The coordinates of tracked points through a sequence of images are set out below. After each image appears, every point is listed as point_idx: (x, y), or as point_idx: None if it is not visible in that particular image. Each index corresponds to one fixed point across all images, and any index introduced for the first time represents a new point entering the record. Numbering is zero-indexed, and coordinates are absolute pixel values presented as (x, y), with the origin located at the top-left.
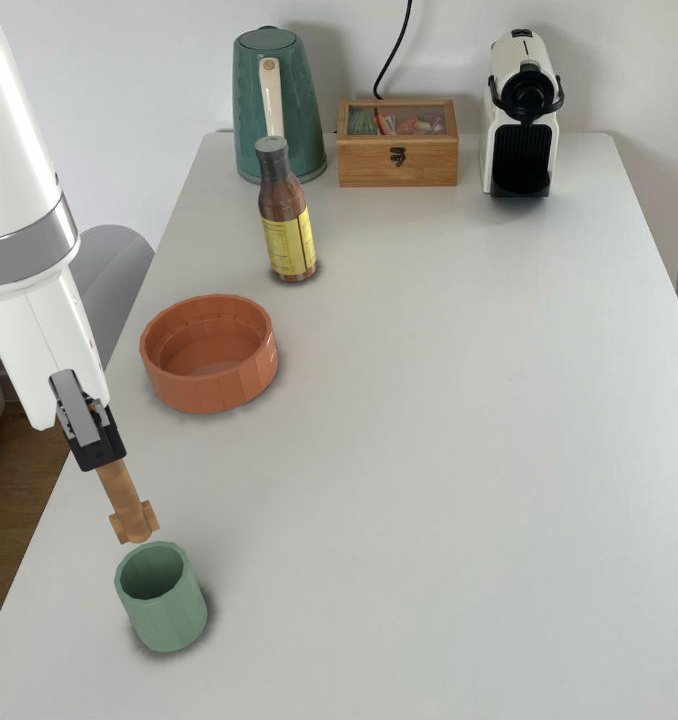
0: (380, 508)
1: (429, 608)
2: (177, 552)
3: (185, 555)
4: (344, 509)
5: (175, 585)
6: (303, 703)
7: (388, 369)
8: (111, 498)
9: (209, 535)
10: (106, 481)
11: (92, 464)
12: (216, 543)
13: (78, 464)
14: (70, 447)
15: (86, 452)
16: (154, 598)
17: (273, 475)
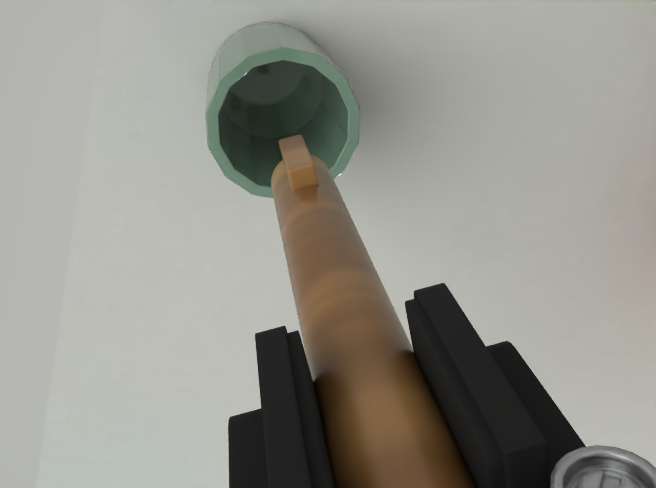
0: None
1: (199, 430)
2: None
3: None
4: None
5: (238, 173)
6: (83, 269)
7: (624, 431)
8: (295, 241)
9: (422, 153)
10: (299, 294)
11: (231, 419)
12: (402, 164)
13: (258, 358)
14: (265, 440)
15: (231, 481)
16: (217, 132)
17: (501, 261)
